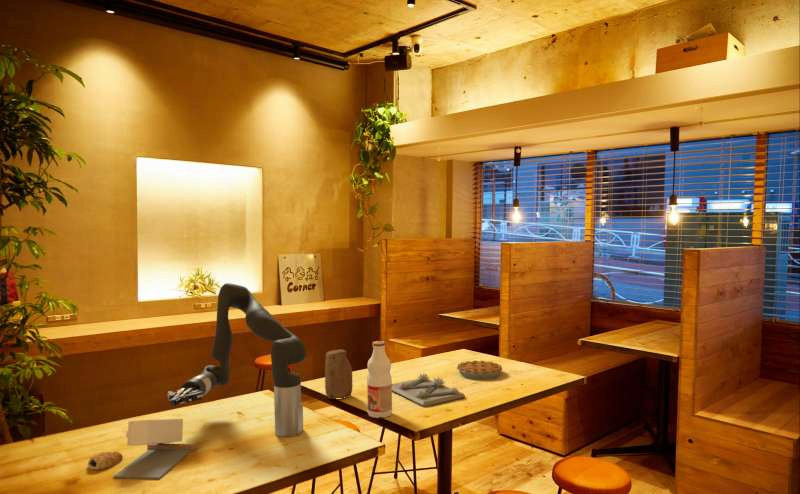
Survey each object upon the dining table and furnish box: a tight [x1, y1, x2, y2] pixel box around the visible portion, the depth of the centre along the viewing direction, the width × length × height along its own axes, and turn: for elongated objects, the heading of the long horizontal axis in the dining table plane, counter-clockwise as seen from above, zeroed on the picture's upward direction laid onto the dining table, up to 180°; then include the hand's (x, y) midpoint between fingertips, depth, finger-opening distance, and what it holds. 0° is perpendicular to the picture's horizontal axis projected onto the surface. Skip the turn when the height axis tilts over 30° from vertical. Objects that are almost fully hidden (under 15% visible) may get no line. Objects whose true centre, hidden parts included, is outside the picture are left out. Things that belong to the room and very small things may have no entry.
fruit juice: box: [366, 340, 393, 419], centre depth 210 cm, size 9×9×28 cm
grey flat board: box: [113, 443, 197, 480], centre depth 170 cm, size 16×21×2 cm
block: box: [324, 349, 353, 400], centre depth 232 cm, size 11×8×20 cm
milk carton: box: [125, 418, 184, 447], centre depth 175 cm, size 7×7×19 cm
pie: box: [456, 360, 503, 380], centre depth 266 cm, size 22×22×5 cm
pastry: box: [87, 451, 124, 471], centre depth 170 cm, size 9×7×4 cm
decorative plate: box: [392, 372, 466, 408], centre depth 236 cm, size 30×22×7 cm
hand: (172, 403), depth 180 cm, fingers closed
